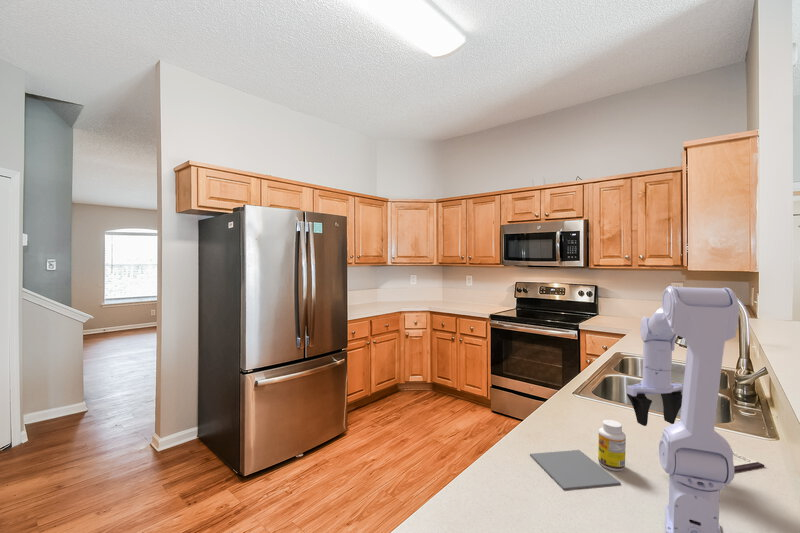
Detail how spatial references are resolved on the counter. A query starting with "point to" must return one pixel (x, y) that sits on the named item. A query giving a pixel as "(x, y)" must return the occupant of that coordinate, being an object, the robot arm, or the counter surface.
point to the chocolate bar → (744, 463)
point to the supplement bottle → (612, 446)
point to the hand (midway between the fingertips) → (655, 423)
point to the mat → (573, 470)
